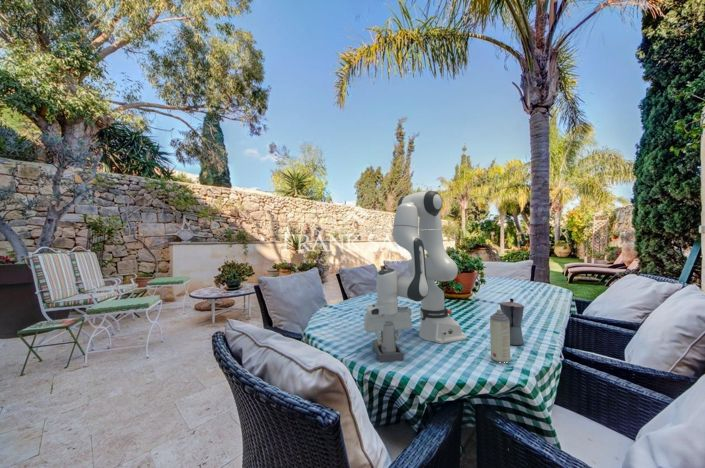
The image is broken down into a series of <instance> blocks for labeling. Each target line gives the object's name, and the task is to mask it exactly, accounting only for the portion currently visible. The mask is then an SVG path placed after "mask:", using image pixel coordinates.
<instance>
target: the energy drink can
mask: <svg viewBox="0 0 705 468" xmlns="http://www.w3.org/2000/svg"><path fill="white" fill-rule="evenodd" d="M395 335H396V330H395V326H394V324H393V323H392V322H385V325H384V326H383V331H380V336H381V337H382V341H381V352H380V353H381V354H388V353H396V343H397V340H396V339H395Z"/></svg>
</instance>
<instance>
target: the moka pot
mask: <svg viewBox="0 0 705 468" xmlns="http://www.w3.org/2000/svg"><path fill="white" fill-rule="evenodd" d="M499 306H500V307H499V309H501V310H502V312H503V313H504V314H505V315H506V317H508V318H509V324H510V346H511V345H512V346H522V345H524V336H523V331H522V322H523V317H524V309H525V306H524V305H523V304H521V303H519V302H514V298H512V297H510V298H509V301H504V302H503V301H502V302H500V303H499Z"/></svg>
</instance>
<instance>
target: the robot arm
mask: <svg viewBox="0 0 705 468" xmlns="http://www.w3.org/2000/svg"><path fill="white" fill-rule="evenodd" d="M442 207H443V198H442V196H441V194H440V193H439V192H438V191H435V190H427V191H417V192H415V193H410V194H405V195H403V196H402V197H401V196H400V198H399V199H398V202H397V207H396V211H395V214H394V219H393V225H392V226H393V228H392V238H393V241H394V242H395V243H396V244H397V245H398V246H400V247H401V248H402V249H405V250H406V251H407V252H408V253H409V254H410V256H411V259H410V260H409V261H408V264H407V271H408V273H409V275H406V274H402V273H399V272H397V271H396V269H394V268H382V269H380V270H378V272H377V275H376V283H375V287H376V294H377V297H376V302H375V303H371V304H369V305H367V306H366V307H365V310H366V313H365V314H364V318H363V330H364V331H365V332H367V333H375V335H376V338H377V340H378V342H380V341H382V337H381V335H379V334H380V332H381V331H383V326H384V325H385V322H392V323H393V324H394V326H395V331H397V333H395V339H396V341H400V336H401V334H402V332H403V331H405V330H411V329H412V328H413V322H412V309H411V307H408V306H399V302H398V301H399V300H398V297H400V298H404V299H408V300H411V301H414V302H420V311H419V313H420V314H419V315H420V327H419V332H418V337H419V338H420V339H422V340H423V341H424V340H425V341H429V342H433V343H434V342H435V343H437V344H442V345H443V344H447V343H452V342H457V341H464V340H467V339H468V338H467V335H466V333H465V332H463V331H462V328H461V325H460V323H459V322H458V321H456V320H455V319H454V318H452V316H450V315H452V314H453V311H452V309H449V308H446V307H445V293H444V291H443V290H442V288H440V287H439V286H438V284H436V281H437V282H450V281H454V280H455V279H456V278H457V277H458V274H459V273H458V272H459V268H458V265H457V263H456V262H455V261H454V260H453V259H452V258H451V257H450V255H448V253H447V251H446V249H445V246H444V240H443V225H442V223H443V222H442V217H441V212H440V211H441V209H442ZM425 252H426V253H427V255H428V257H427V256H426V254H425ZM402 330H403V331H402Z"/></svg>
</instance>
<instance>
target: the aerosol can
mask: <svg viewBox="0 0 705 468" xmlns="http://www.w3.org/2000/svg"><path fill="white" fill-rule="evenodd" d="M489 325H490V326H489V329H490V358H491V360H492V361H493V360H494V361H493V362H495V361H496V362H495V363H497V362H501V363H500V364H502V363H504V362H505V363H506V362H510V363H511V344H510V324H509V318H508V317H506V315H505V314H504V313H503V312H502V310H501V308H497V309H496V311H495V312H494V313H493V314H492V315H490V318H489Z"/></svg>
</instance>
